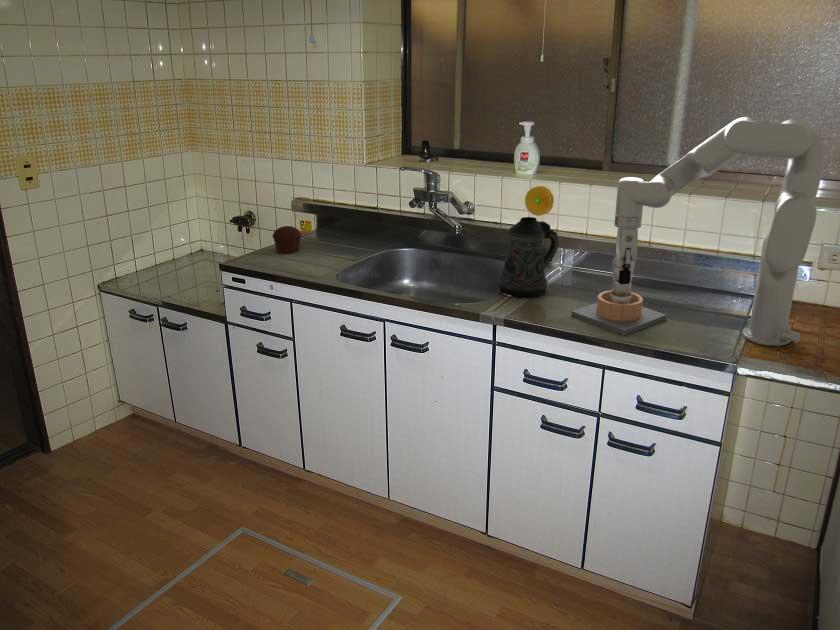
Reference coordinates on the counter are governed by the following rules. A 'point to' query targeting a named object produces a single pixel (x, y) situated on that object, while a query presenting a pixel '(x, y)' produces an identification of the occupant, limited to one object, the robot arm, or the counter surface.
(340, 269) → the counter surface
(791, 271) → the robot arm
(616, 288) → the plastic bottle
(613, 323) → the duct base
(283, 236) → the muffin
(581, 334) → the counter surface
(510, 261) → the beer stein
